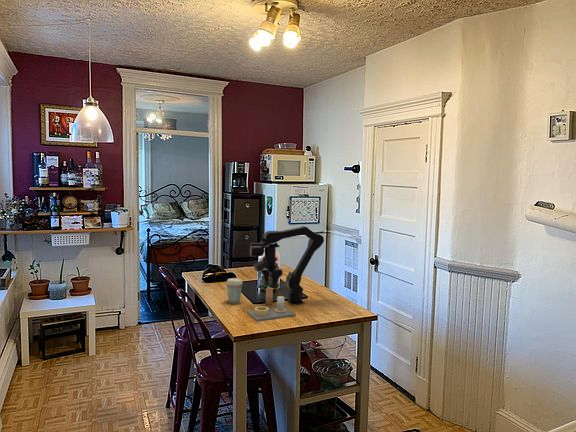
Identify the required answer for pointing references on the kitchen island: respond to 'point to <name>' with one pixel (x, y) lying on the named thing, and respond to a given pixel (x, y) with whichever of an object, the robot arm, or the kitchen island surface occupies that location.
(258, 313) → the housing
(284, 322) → the kitchen island surface
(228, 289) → the coffee cup
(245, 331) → the kitchen island surface
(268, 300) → the brown peg
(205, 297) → the kitchen island surface
